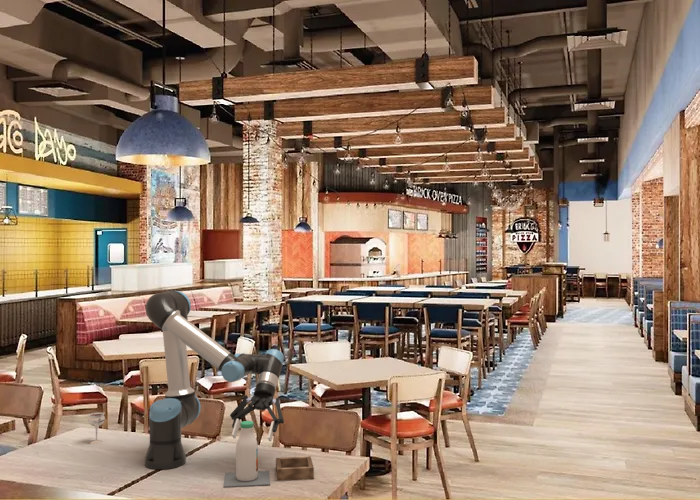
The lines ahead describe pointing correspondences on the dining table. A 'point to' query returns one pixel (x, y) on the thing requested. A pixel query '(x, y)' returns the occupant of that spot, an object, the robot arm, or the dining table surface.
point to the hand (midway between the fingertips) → (251, 438)
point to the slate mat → (232, 481)
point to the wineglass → (96, 422)
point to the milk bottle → (246, 453)
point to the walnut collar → (294, 468)
